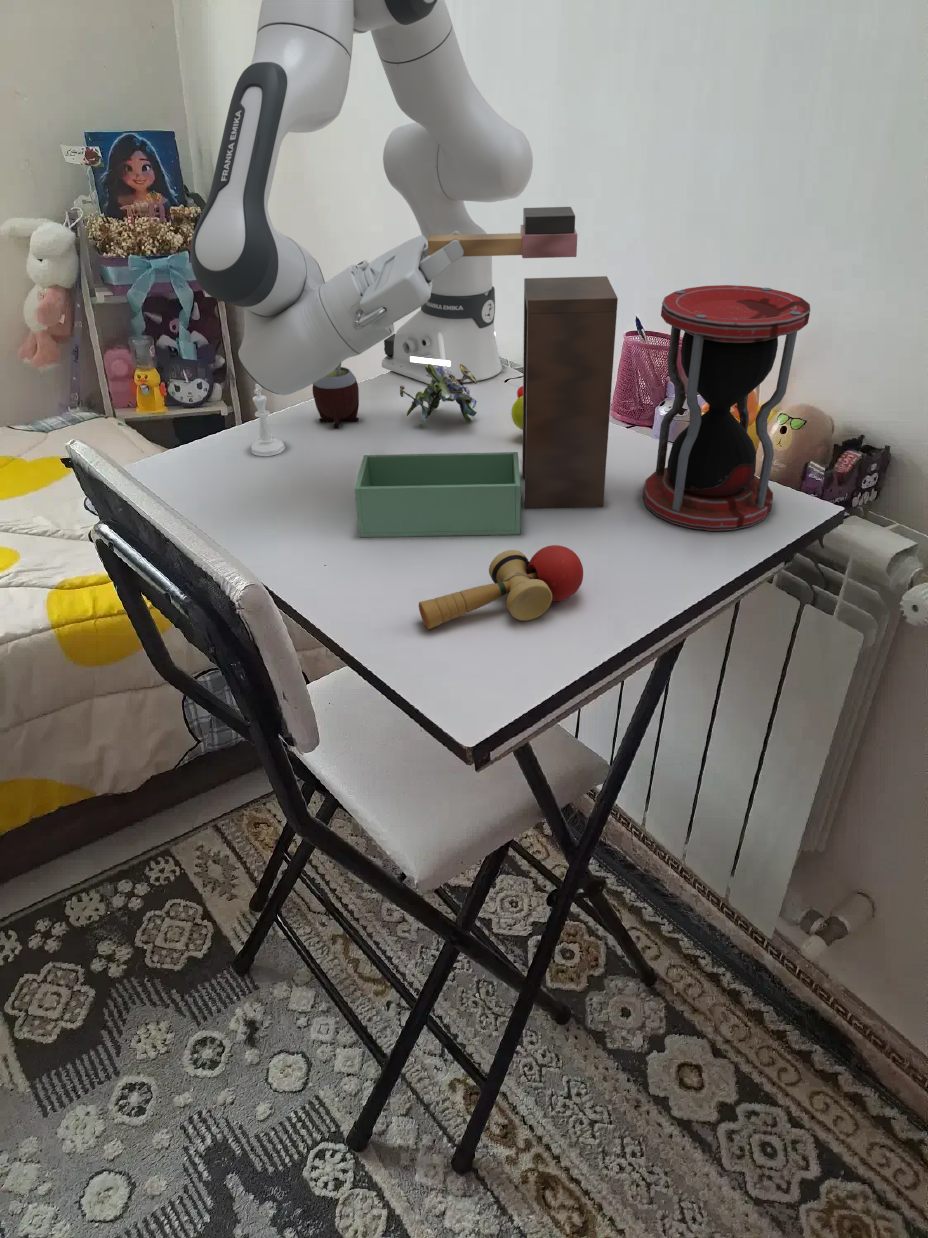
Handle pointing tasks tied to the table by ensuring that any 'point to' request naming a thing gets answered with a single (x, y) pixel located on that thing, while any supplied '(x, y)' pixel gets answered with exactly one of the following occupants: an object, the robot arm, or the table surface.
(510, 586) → the kendama
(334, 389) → the mate gourd
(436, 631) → the table surface
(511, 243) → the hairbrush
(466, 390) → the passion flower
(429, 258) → the robot arm
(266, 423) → the chess piece
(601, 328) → the shelf stand
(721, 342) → the hourglass
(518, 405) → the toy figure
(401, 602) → the table surface
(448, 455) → the bin
